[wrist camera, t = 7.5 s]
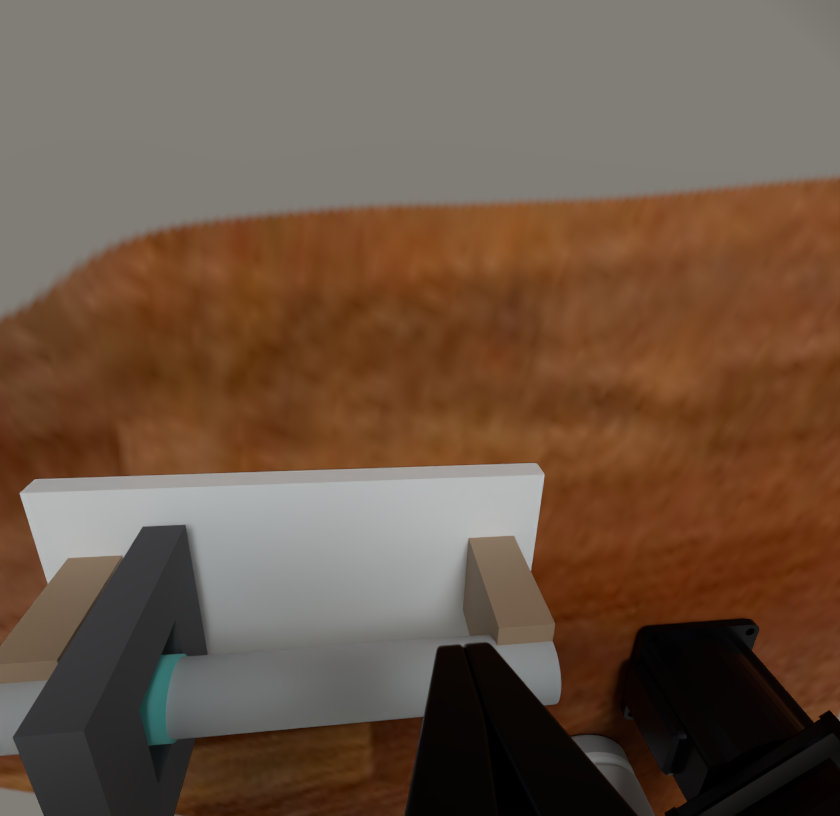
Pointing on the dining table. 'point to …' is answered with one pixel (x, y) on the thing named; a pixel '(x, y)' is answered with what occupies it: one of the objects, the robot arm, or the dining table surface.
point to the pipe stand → (297, 590)
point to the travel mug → (615, 770)
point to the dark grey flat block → (117, 691)
